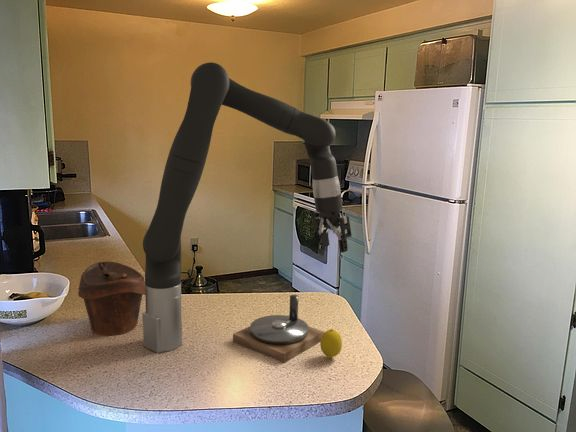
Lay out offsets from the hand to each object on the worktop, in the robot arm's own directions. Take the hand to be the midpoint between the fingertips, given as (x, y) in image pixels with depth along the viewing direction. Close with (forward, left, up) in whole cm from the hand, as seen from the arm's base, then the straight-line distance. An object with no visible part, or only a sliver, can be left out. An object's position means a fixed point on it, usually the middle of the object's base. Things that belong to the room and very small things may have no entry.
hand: (334, 249), depth 137 cm
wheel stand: (-15, +8, -25) cm, 30 cm away
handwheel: (-15, +8, -22) cm, 28 cm away
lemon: (-14, -9, -25) cm, 30 cm away
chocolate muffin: (-39, +50, -25) cm, 68 cm away
